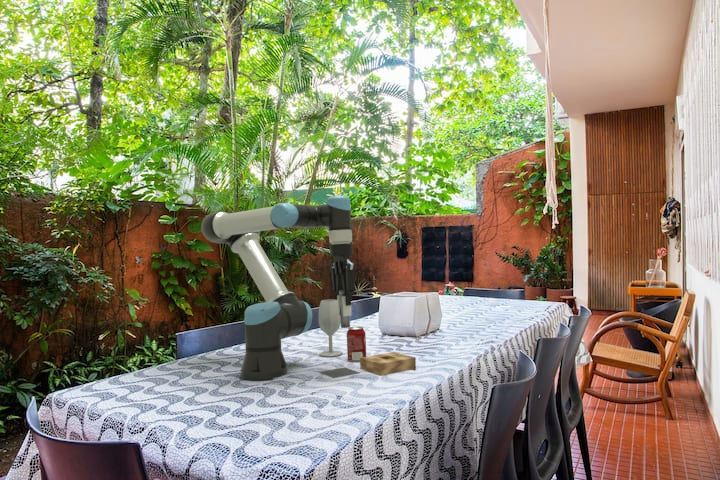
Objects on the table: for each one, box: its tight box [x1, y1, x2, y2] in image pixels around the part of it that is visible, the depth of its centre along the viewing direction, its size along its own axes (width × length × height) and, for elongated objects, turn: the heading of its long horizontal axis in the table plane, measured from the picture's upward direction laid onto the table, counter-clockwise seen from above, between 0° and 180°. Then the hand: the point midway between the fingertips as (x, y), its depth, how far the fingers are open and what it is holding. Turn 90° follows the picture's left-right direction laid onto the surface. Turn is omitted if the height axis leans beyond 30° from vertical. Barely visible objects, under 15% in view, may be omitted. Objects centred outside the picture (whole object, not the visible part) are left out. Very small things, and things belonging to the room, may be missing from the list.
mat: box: [318, 367, 361, 379], centre depth 164 cm, size 10×10×1 cm
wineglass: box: [318, 299, 343, 358], centre depth 194 cm, size 9×9×21 cm
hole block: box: [359, 351, 417, 376], centre depth 167 cm, size 14×12×4 cm
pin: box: [339, 290, 351, 329], centre depth 164 cm, size 3×3×12 cm
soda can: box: [346, 326, 367, 363], centre depth 181 cm, size 7×7×12 cm
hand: (344, 315), depth 164 cm, fingers closed on pin, 3 cm apart
